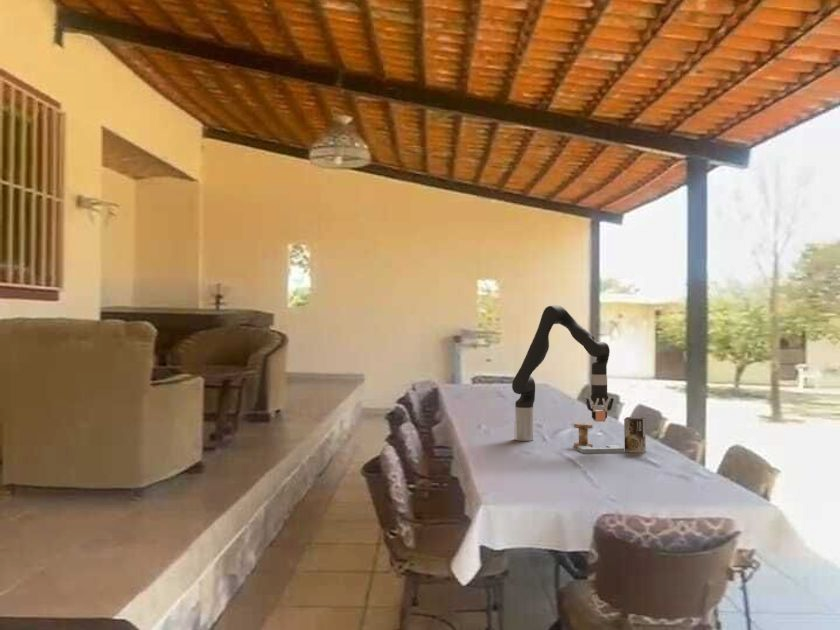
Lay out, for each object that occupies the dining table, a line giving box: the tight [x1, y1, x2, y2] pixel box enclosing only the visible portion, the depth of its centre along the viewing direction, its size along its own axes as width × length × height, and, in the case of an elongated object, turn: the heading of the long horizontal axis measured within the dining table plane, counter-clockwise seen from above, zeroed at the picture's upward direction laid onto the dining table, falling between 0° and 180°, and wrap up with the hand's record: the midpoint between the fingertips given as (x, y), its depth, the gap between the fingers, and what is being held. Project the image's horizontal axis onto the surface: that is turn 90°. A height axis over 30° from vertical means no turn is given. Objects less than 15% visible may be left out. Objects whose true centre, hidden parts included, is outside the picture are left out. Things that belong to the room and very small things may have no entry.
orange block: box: [592, 409, 606, 423], centre depth 419 cm, size 4×4×5 cm
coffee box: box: [623, 416, 647, 454], centre depth 416 cm, size 9×6×16 cm
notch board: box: [576, 444, 625, 454], centre depth 418 cm, size 20×10×2 cm, turn 96°
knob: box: [573, 422, 594, 448], centre depth 432 cm, size 9×9×11 cm
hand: (599, 419), depth 419 cm, fingers closed on orange block, 4 cm apart
